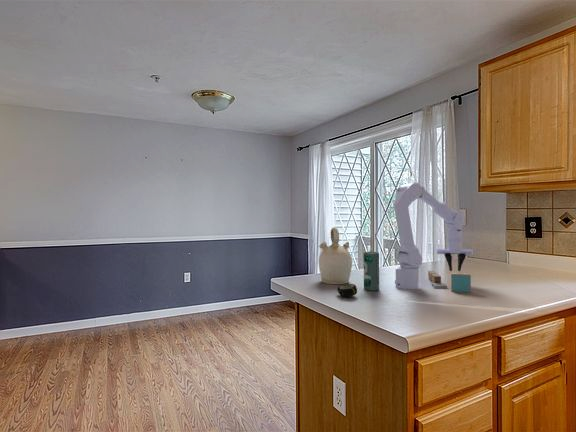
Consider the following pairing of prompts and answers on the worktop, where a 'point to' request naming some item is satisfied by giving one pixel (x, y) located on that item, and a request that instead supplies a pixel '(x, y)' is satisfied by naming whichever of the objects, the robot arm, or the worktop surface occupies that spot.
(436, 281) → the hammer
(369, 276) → the can
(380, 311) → the worktop surface
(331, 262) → the jug
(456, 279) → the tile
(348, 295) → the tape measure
